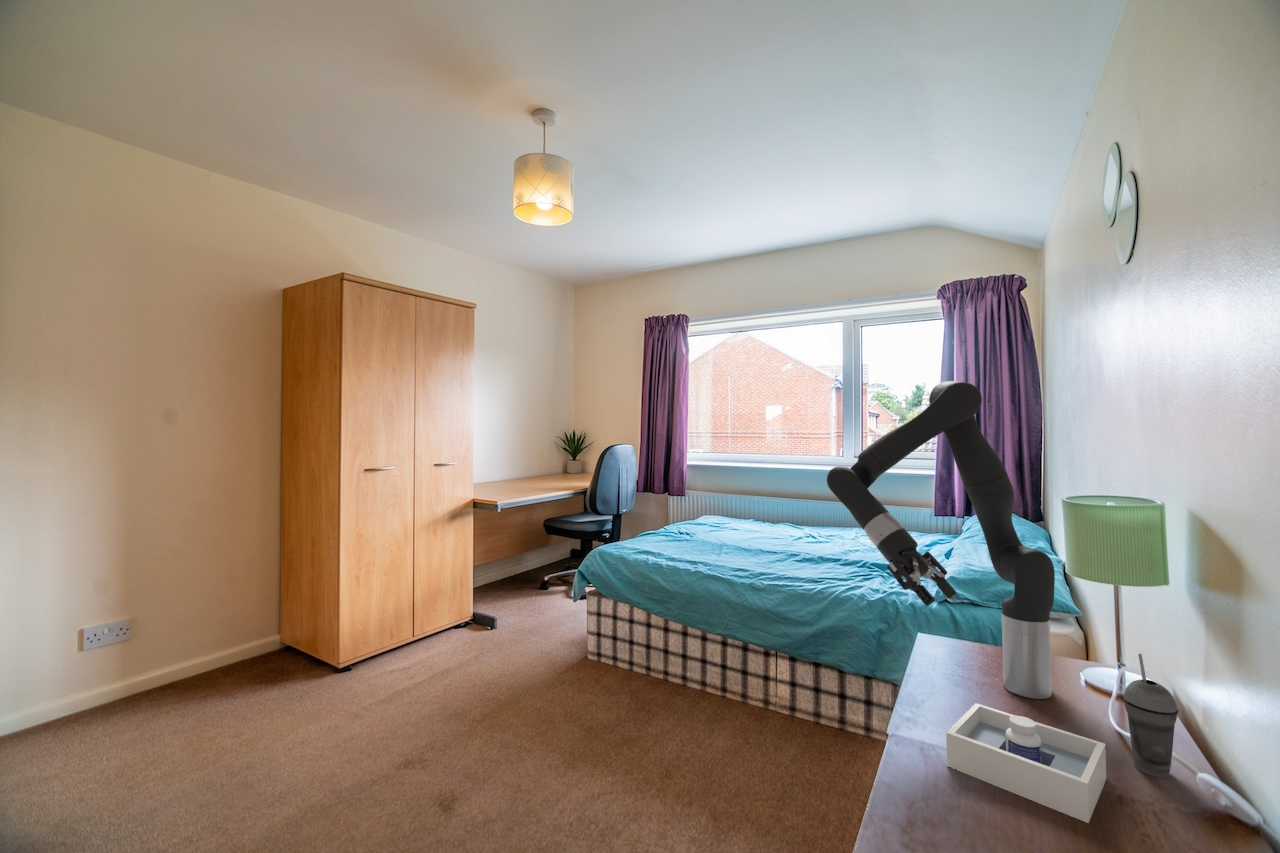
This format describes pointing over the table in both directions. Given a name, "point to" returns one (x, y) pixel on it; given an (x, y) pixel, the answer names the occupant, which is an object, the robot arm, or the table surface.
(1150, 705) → the beverage cup
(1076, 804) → the bore box
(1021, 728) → the pill bottle
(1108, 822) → the table surface
